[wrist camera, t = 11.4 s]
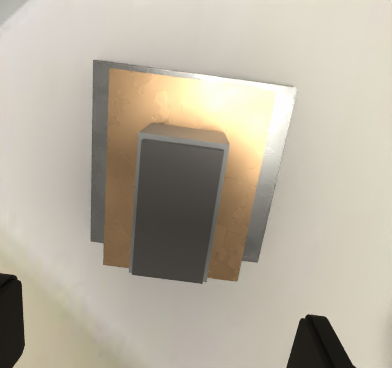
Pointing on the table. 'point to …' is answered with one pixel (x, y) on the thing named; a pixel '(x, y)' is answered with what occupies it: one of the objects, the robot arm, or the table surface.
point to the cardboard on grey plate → (192, 118)
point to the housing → (176, 201)
